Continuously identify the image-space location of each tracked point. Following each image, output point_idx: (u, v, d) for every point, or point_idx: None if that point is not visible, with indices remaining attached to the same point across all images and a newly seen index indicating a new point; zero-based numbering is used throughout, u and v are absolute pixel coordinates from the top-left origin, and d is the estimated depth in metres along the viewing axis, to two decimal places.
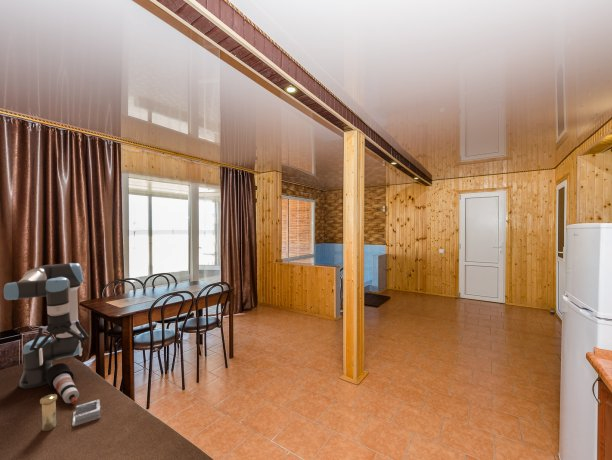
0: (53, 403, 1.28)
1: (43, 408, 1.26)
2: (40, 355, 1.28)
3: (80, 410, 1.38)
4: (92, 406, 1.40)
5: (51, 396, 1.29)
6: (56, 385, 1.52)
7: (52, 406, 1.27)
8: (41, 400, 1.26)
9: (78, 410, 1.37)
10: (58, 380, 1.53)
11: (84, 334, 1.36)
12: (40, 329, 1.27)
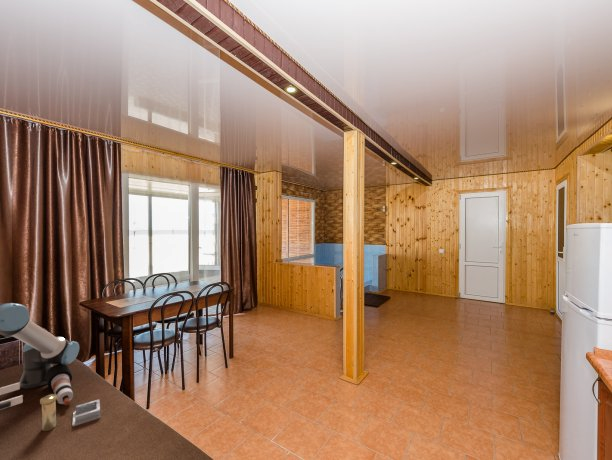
0: (53, 403, 1.28)
1: (43, 408, 1.26)
2: None
3: (80, 410, 1.38)
4: (92, 406, 1.40)
5: (51, 396, 1.29)
6: (52, 387, 1.51)
7: (52, 406, 1.27)
8: (41, 400, 1.26)
9: (78, 410, 1.37)
10: (54, 382, 1.52)
11: None
12: None
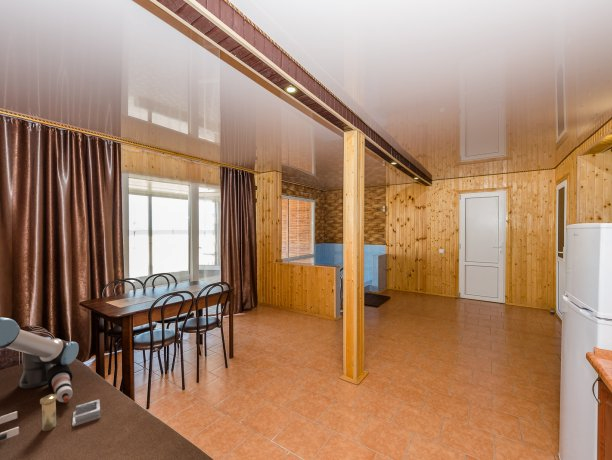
0: (53, 403, 1.28)
1: (43, 408, 1.26)
2: None
3: (80, 410, 1.38)
4: (92, 406, 1.40)
5: (51, 396, 1.29)
6: (53, 386, 1.51)
7: (52, 406, 1.27)
8: (41, 400, 1.26)
9: (78, 410, 1.37)
10: (54, 380, 1.52)
11: None
12: None
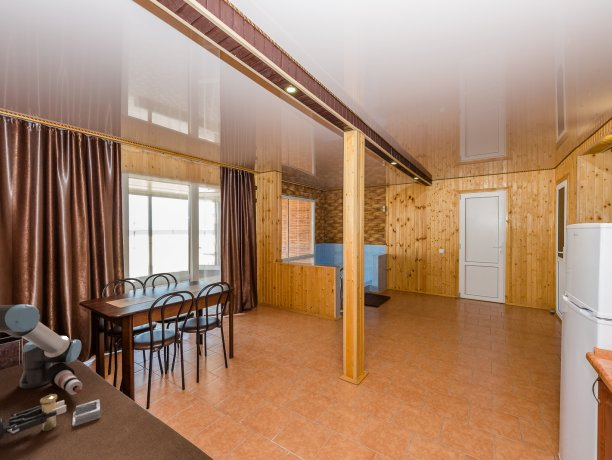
0: (53, 403, 1.28)
1: (43, 408, 1.26)
2: None
3: (80, 410, 1.38)
4: (92, 406, 1.40)
5: (51, 396, 1.29)
6: (58, 380, 1.52)
7: (52, 406, 1.27)
8: (41, 400, 1.26)
9: (78, 410, 1.37)
10: (60, 375, 1.54)
11: None
12: None
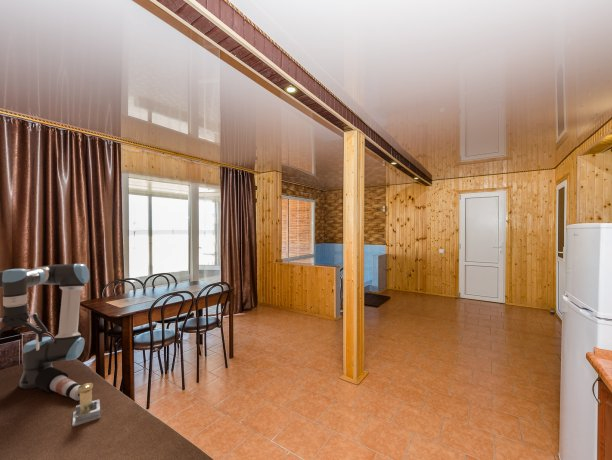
0: (90, 391, 1.35)
1: (81, 396, 1.34)
2: None
3: None
4: (92, 406, 1.40)
5: (87, 385, 1.37)
6: (56, 387, 1.50)
7: (89, 394, 1.35)
8: (79, 388, 1.34)
9: (78, 410, 1.37)
10: (57, 382, 1.52)
11: (42, 327, 1.33)
12: None
